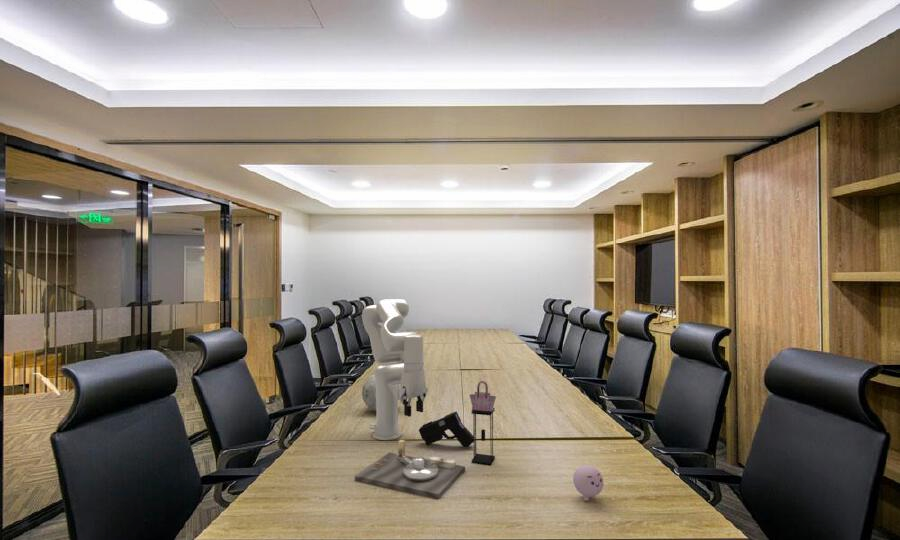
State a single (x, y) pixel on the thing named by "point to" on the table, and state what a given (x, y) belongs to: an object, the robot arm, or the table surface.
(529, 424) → the table surface
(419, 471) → the crank handle
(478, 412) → the handbag
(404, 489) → the level board
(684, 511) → the table surface
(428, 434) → the toy
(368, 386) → the decorative sphere
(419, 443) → the table surface
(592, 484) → the toy
